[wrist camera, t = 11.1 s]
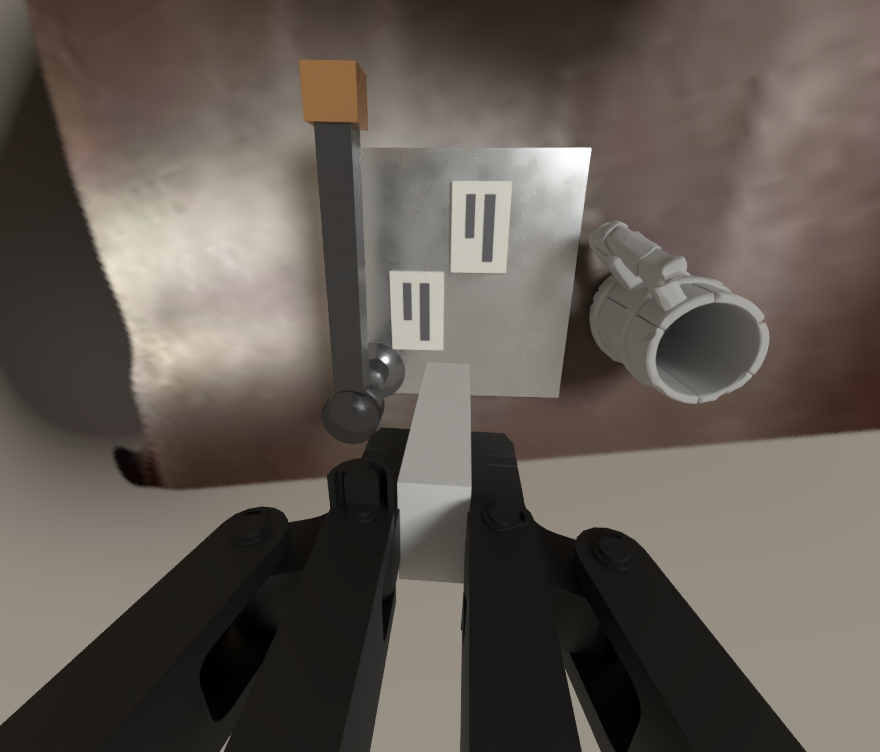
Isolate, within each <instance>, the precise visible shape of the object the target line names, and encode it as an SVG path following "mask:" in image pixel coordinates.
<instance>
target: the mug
mask: <svg viewBox="0 0 880 752" xmlns="http://www.w3.org/2000/svg"><path fill="white" fill-rule="evenodd" d="M589 245H590V247H591V248H592V250H593V251H594V252H595V254H596V255H597V256H598V257H599V258H600V260H601V261H602V262H603V263H604V264H605V265H606V267H607V268H608V269H609V271H610V272H611V273H612V275H610V276H609V277H608V278H607V279H606V280H605V281H604V282H603V283H602V284H601V285H600V286H599V288H598V291H599V292H598V291H597V292H596V293H595V295H594V297H593V300H594V302H593V304H592V305H591V306H590V312H589V320H590V327H591V332H592V335H593V338H594V340H595V342H596V343H597V345H598V346H599V348H600V349H601V350H602V351H603V352H604V353H605V354H606V355H608V356H609V357H610V358H611V359H612V360H614V361H616V362H620V363H623V365H624V366H625V367H626V369H627V370H628V371H629V372H630V373H631V374H632V375H633V376H634V377H635V378H636V379H637V380H638V381H639V382H640V383H642V384H644V385H648V386H650V387H654V388H655V389H657V390H658V391H659V392H661V393H662V394H664V395H666V396H667V397H669V398H671V399H673V400H676V401H680V402H684V403H690V404H696V403H697V402H698V403H703V402H708V401H714V400H716V399H717V398H718V397H719V396H720V395H722V394H723V393H725V394H727V393H730V392H731V391H733V390H735V389H737V388H739V387H741V386H743V385H744V384H745V383H746V382H747V381H748V380H749V379H750V378H751V377H752V375H751V374H755V373H756V372H757V371H758V369H759V368H760V366H761V365H762V363H763V361H764V358H765V356H766V353H767V350H768V346H769V330H768V328H767V326H766V324H765V323H763V322H762V320H763V319H764V318H765V317H764V315H763V314H762V312H761V311H760V310H759V309H758V307H757V306H756V305H754V304H753V303H752V302H750V301H749V300H747V299H745V298H743V297H741V296H738V295H736V294H733V293H732V292H731V291H730V290H729V289H728V288H727V287H726V286H723V284H722V283H721V282H719V281H717V280H715V279H713V278H710V279H709V278H704V277H699V276H691V275H690V274H689V273H688V272H686V269H687V262H686V260H685V258H684V257H682V256H672V255H669V254H667V253H666V252H664V251H661V247H660V246H658V245H657V244H655V243H654V242H652V241H650V240H648V239H647V238H645V237H644V236H643V235H642V234H641V233H639V232H638V231H635V232H633V231H631V230H629V229H628V226H627V225H626V224H624V223H622V222H620V221H612V222H611V223H605V224H603V225H601V226H600V227H598V228H597V229H596V230H594V231H593V232H592V233H591V234H590V237H589ZM669 326H670V327H669ZM750 373H751V374H750Z"/></svg>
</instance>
